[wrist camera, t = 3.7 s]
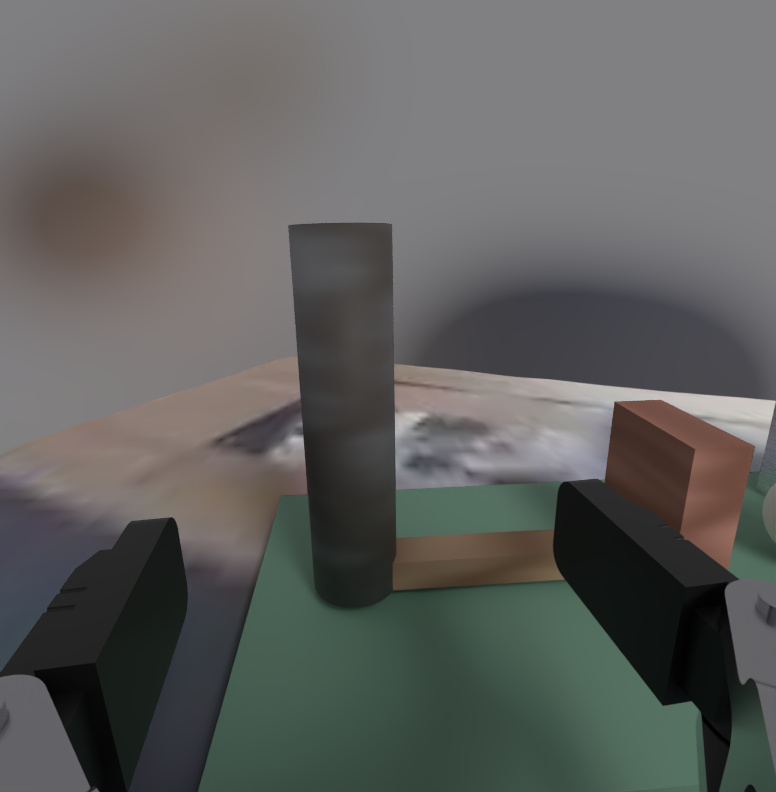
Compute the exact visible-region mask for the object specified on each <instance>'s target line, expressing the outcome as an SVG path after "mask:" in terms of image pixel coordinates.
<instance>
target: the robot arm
mask: <svg viewBox="0 0 776 792" xmlns="http://www.w3.org/2000/svg"><path fill="white" fill-rule="evenodd" d="M553 554H554V559H555V562H556V565H557V568H558V570H559V572H560V573H561V575H562V576H563V578H564V579H565V580H566V581H567V583H568V584H569V585H570V587H571V588H572V589H573V591H574V592H575V593H576V594H577V596H578V597H579V598H580V600H581V601H582V602H583V603H584V605H585V606H586V607H587V609H588V610H589V611H590V613H591V614H592V615H593V616H594V618H595V619H596V620H597V622H598V623H599V624H600V625H601V627H602V628H603V629H604V631H605V632H606V633H607V634H608V636H609V637H610V638H611V640H612V641H613V642H614V644H615V645H616V646H617V647H618V649H619V650H620V651H621V653H622V654H623V655H624V656H625V658H626V659H627V660H628V662H629V663H630V664H631V666H632V667H633V668H634V669H635V671H636V672H637V673H638V675H639V676H640V677H641V678H642V680H643V681H644V682H645V684H646V685H647V686H648V687H649V689H650V690H651V691H652V693H653V694H654V695H655V697H656V698H657V699H658V700H659V702H660V703H661V704H662V706H667V705H673V704H679V703H684V702H690V701H692V702H693V703H694V705H695V706H696V707H697V708H698V709H699V710H698V715H697V720H696V744H697V760H698V776H699V792H776V583H773V582H768V581H764V580H756V579H742V580H740V579H738V578H737V577H736V576H734V575H733V574H732V573H731V572H729V571H728V570H727V569H725V568H724V567H723V566H721V565H720V564H719V563H718V562H716V561H715V560H714V559H712V558H711V557H710V556H708V555H707V554H706V553H705V552H703V551H702V550H701V549H699V548H698V547H697V546H696V545H694V544H693V543H692V542H690V541H689V540H685V539H684V536H683V535H681V534H680V533H679V532H677V531H676V530H675V529H673V528H672V527H671V528H669V527H668V524H667V523H666V522H664V521H663V520H662V519H660V518H659V517H658V516H657V515H655V514H654V513H653V512H651V511H650V510H648V509H646V508H644V507H642V506H639V505H637V504H635V503H633V502H631V501H629V500H626V499H624V498H622V497H621V496H620V495H619V494H617V493H616V492H615V491H614V490H612V489H611V488H610V487H609V486H607V485H606V484H605V483H604V482H602V481H601V480H599V479H589V480H578V481H567V482H563V483H562V484H561V485H560V487H559V489H558V494H557V505H556V516H555V526H554V537H553ZM187 599H188V592H187V582H186V576H185V569H184V563H183V557H182V551H181V545H180V539H179V533H178V527H177V524H176V521H175V520H174V518H172V517H171V518H160V519H149V520H139V521H131V522H130V523H129V524H128V525H127V527H126V528H125V530H124V531H123V533H122V534H121V536H120V538H119V539H118V541H117V542H116V544H115V545H114V547H113V548H112V549H110V550H100V551H98V552H97V553H96V554H95V555H93V556H92V557H91V558H89V559H88V560H87V561H85V562H84V563H83V564H81V565H80V566H79V567H77V568H76V569H75V570H74V571H73V573H72V574H71V576H70V577H69V578H68V580H67V581H66V583H65V584H64V585H63V587H62V588H61V590H60V594H57V595H56V596H55V598H54V599H53V601H52V602H51V603H50V605H49V606H48V608H47V612H45V613H43V614H42V616H41V617H40V619H39V620H38V621H37V623H36V624H35V626H34V627H33V628H32V630H31V631H30V633H29V634H28V635H27V637H26V638H25V639H24V641H23V642H22V644H21V645H20V646H19V648H18V649H17V651H16V652H15V653H14V655H13V656H12V657H11V659H10V660H9V662H8V663H7V664H6V666H5V667H4V669H3V670H2V671H1V673H0V792H128V790H129V787H130V783H131V780H132V777H133V774H134V771H135V768H136V765H137V762H138V759H139V756H140V753H141V750H142V747H143V744H144V741H145V738H146V735H147V732H148V729H149V726H150V723H151V720H152V717H153V714H154V711H155V708H156V705H157V702H158V699H159V696H160V693H161V689H162V686H163V683H164V680H165V677H166V674H167V671H168V668H169V665H170V662H171V659H172V656H173V653H174V650H175V647H176V644H177V641H178V638H179V635H180V632H181V629H182V626H183V623H184V620H185V616H186V610H187Z"/></svg>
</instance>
